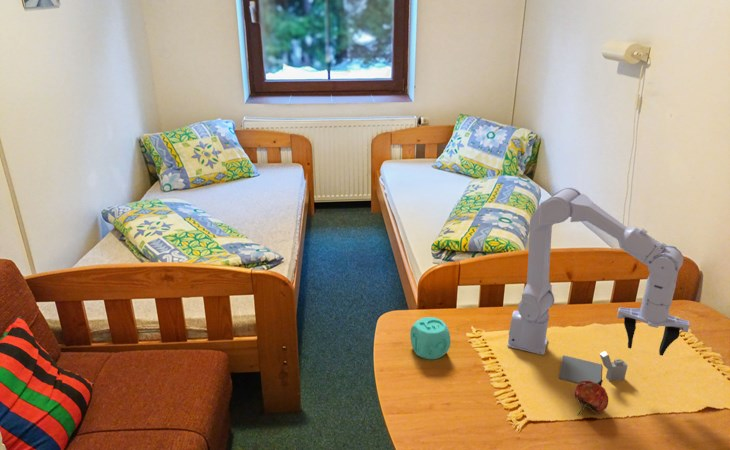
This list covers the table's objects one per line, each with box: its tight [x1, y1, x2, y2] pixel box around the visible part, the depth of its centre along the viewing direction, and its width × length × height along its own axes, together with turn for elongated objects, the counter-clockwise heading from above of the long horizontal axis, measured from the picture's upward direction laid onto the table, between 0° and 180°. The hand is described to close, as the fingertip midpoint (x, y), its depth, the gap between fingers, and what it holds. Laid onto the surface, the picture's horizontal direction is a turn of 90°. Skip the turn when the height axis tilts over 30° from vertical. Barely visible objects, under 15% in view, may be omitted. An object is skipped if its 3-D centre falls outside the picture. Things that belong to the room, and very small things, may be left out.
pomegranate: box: [573, 379, 609, 417], centre depth 125 cm, size 7×7×10 cm
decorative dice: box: [409, 316, 451, 360], centre depth 145 cm, size 8×8×8 cm
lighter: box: [599, 350, 628, 382], centre depth 135 cm, size 7×2×8 cm, turn 100°
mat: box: [558, 354, 603, 384], centre depth 139 cm, size 10×10×1 cm
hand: (645, 349), depth 130 cm, fingers open, 6 cm apart
